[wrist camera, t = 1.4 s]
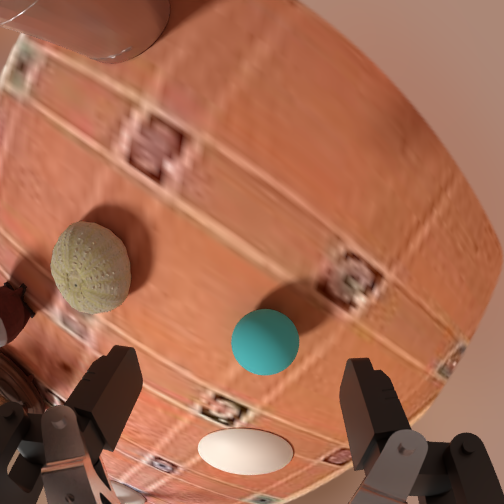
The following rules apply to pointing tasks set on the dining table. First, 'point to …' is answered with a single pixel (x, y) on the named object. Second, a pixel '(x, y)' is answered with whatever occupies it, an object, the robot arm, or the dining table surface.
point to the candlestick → (127, 494)
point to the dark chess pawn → (18, 387)
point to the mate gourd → (12, 312)
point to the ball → (265, 342)
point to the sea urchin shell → (91, 268)
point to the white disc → (245, 451)
